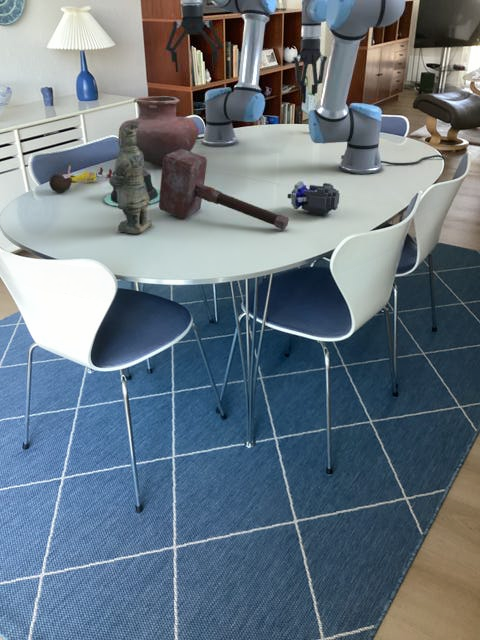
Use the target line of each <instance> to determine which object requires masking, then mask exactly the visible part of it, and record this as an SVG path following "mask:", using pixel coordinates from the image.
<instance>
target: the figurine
mask: <svg viewBox="0 0 480 640" xmlns="http://www.w3.org/2000/svg"><path fill="white" fill-rule="evenodd" d="M71 169H72V167H71V164H70V165H69V166H68V169H67V174H66V173H63V174H61V173H59V172H56V173H53V174H52V175H51V176H50V177H49V181H48V182H49V187H50V189H51V190H52V191H54V192H56V193H64V192H67V191H68V190H69V189H70V188H71V186H72V184H85V183H86V182H92V183H93V182H96V180H95V179H98V178H99V179H110V178H111V176H112V173H113V170H112V168H110V169H108V173H107V174H103V172H104V168H103V167H102V166H101V167H100V168H99V171H98V172H96V171H95V170H94V169H91V170H89V171H85V172H83V173H80V174H76V175H73V174H72V175H71Z"/></svg>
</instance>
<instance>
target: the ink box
mask: <svg viewBox="0 0 480 640" xmlns="http://www.w3.org/2000/svg"><path fill="white" fill-rule="evenodd" d="M305 81H306V82H305V83H304V85H306V101H305V103H303V102H302V101H301V111H302V112H303V113H305V115H308V114H309V111H310V110H315V102H314V98H316V96H314V95H313V94H312V92H310V91H309V76H307V75H306V78H305Z"/></svg>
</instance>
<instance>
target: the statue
mask: <svg viewBox="0 0 480 640" xmlns="http://www.w3.org/2000/svg"><path fill="white" fill-rule="evenodd" d="M138 127H139V123H138V122H137V121H133V122H131V123H128V124H127V125H126V126H125V127H124V128H123V129H121V130H120V133H119V132H118V139H117V141H118V146H119V152H118V154H117V156H116V160H115V164H114V169H113V172H114V175H113V176H112V175H111V178H108V179H109V180H108V183H109V184H110V186H111V187H112V188H113V187H114V188H115V189H116V192H117V202H118V206H117V209H119V210H122V213H123V214H124V215H125V218H126V219H125V220H122V221H120V222H119V224H118V225H117V231H118V232H121V233H126V234H134V235H136V234H142V233H143V232H145V231H146V230H147V229H148V228H150V227H151V226H152V225H153V223H152V220H150V219H148V216H147V214H148V213H147V212H148V211H147V209H148V206H149V205H150V197H149V195H148V192H147V188H146V184H145V182H144V178H143V169H144V165H145V161H144V156H143V153H142V151H141V150H139V149H138V147H137V146H136V143H137V138H136V131H137V130H138Z"/></svg>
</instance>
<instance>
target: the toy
mask: <svg viewBox="0 0 480 640" xmlns="http://www.w3.org/2000/svg"><path fill="white" fill-rule="evenodd" d="M293 187H294V188H293V189H292V191H291V193H288V194H287V199H291V200H290V201H291V202H290V203H291V206H292V207H293V210H298V209H299V208H301V210H303V211H306V212H307V214H310V215H311V214H312V215H318V216H326V215H328V213H330V212H331V211H336V210H337V209H338V205H339V204H340V194H341V193H340V190H338V189H337V188H335V187H334V184H332V183H328V182H324V183H322V185H315V184H310V185H309V186H308V187H309V188H308V187H307V185H306V184H305V183H304V181H301V180H299V181H298V182H296V183H295V184H294V186H293Z"/></svg>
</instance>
